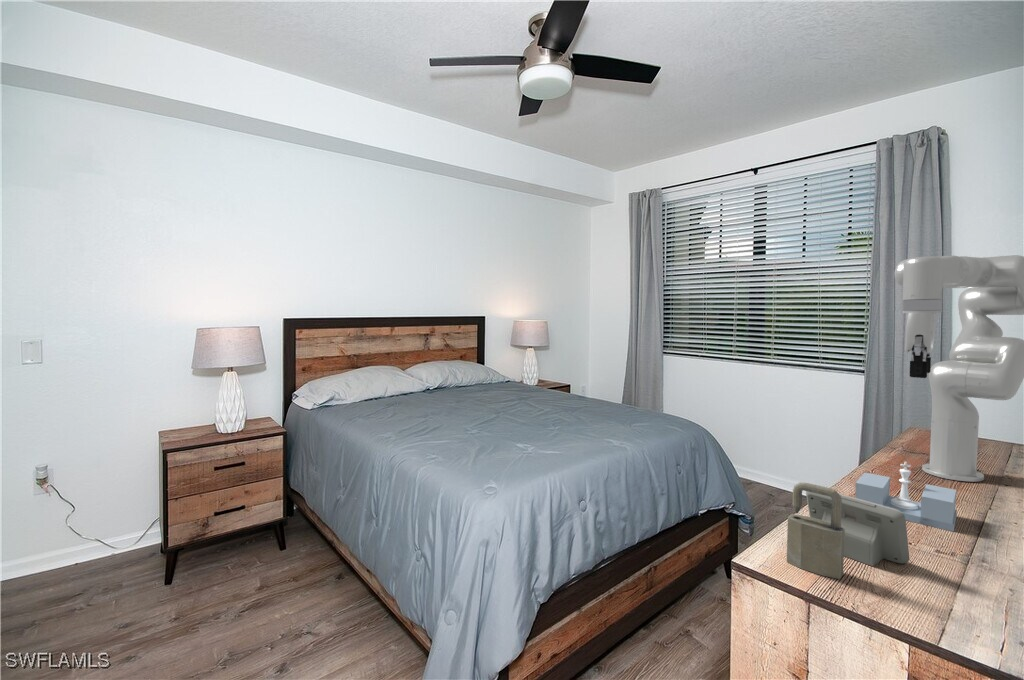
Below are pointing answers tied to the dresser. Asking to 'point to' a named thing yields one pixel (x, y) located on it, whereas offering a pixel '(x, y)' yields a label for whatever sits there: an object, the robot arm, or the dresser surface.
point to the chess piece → (904, 491)
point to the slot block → (931, 509)
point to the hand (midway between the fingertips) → (920, 374)
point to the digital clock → (866, 528)
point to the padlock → (816, 536)
